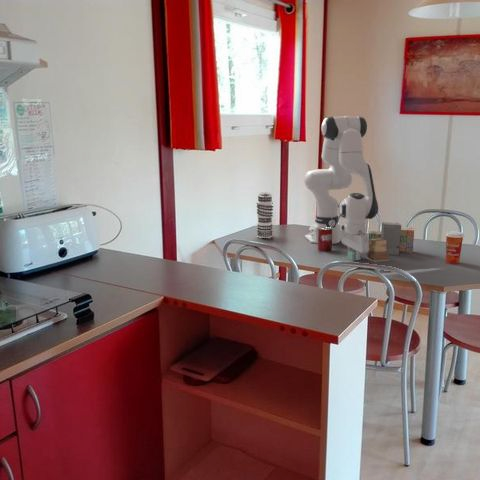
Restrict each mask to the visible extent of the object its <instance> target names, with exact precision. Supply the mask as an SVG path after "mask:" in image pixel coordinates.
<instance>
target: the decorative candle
mask: <svg viewBox="0 0 480 480" xmlns="http://www.w3.org/2000/svg"><path fill="white" fill-rule="evenodd" d="M272 197H273V195H272V193H271V192H267V191H264V192H260V193H259V194H258V195H257V202H256V211H257V212H256V214H257V228H256V229H257V231H256V232H257V234H256V235H257V236H256V237H257V238H258V237H259V238H258V239H262V238H268V239H272V238H273V214H274V212H272V211H273V210H274V205H273V204H274V202H273V200H272ZM271 237H272V238H271Z"/></svg>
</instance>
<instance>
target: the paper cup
mask: <svg viewBox="0 0 480 480" xmlns="http://www.w3.org/2000/svg"><path fill="white" fill-rule="evenodd" d="M445 236H446V237H445V239H446V240H445V242H446V243H445V245H446V246H445V262H446V264H449V265H458V264H459V263H460V258H461V252H462V246H463V240H464V237H465V236H464V234H463V232H461V231H456V230H453V231H452V230H451V231H447V232H446V234H445Z"/></svg>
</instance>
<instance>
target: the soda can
mask: <svg viewBox="0 0 480 480" xmlns="http://www.w3.org/2000/svg"><path fill="white" fill-rule="evenodd" d="M332 240H333V229H332V228H331V227H319V228H318V243H317V252H319V253H321V252H324V253H325V252H326V253H327V252H333V244H332Z"/></svg>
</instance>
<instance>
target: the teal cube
mask: <svg viewBox="0 0 480 480" xmlns="http://www.w3.org/2000/svg"><path fill="white" fill-rule="evenodd" d="M355 255H356V250H353V251H348V250H347V258H346V259H348V260H349V261H351V262H354V261H355V262H356V261H357V260H356V259H355ZM361 260H362V254H361V255H360V259H359V260H358V261H361Z"/></svg>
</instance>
